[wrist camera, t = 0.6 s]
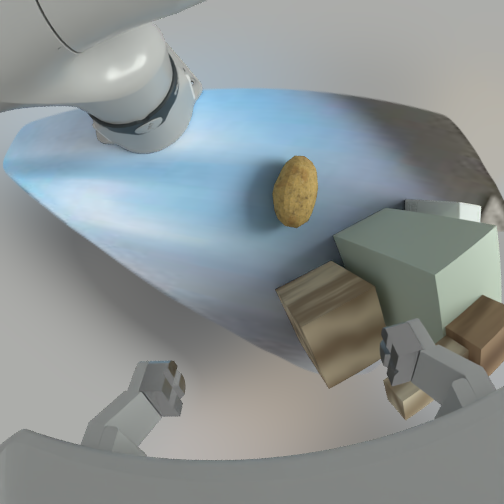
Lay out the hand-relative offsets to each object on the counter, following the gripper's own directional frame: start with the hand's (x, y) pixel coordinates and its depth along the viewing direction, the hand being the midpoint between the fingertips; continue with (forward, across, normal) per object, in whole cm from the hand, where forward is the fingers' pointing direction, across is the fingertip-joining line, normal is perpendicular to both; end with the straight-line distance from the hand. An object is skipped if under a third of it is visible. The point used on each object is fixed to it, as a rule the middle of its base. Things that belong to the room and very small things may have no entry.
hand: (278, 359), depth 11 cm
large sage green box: (+38, -18, +23) cm, 47 cm away
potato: (+39, -4, +5) cm, 40 cm away
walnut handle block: (+11, -17, +18) cm, 27 cm away
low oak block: (+34, -5, +25) cm, 43 cm away
